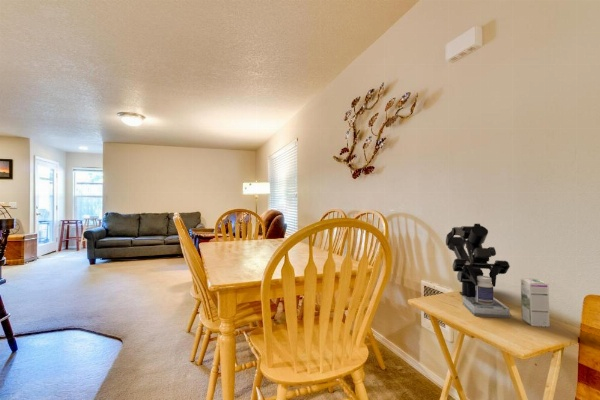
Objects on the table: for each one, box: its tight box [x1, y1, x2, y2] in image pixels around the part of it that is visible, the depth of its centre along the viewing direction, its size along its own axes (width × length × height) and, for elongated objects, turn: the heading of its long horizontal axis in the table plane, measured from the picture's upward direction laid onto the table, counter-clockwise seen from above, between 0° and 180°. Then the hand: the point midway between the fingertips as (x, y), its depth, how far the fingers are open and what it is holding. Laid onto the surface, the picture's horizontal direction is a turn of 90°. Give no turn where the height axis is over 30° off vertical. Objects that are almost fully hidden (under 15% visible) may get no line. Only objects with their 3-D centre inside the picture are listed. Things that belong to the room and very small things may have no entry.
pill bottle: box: [476, 275, 494, 305], centre depth 109 cm, size 6×6×10 cm
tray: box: [462, 296, 511, 319], centre depth 108 cm, size 12×11×4 cm
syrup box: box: [520, 278, 551, 328], centre depth 97 cm, size 6×6×14 cm
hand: (485, 285), depth 107 cm, fingers closed on pill bottle, 5 cm apart
